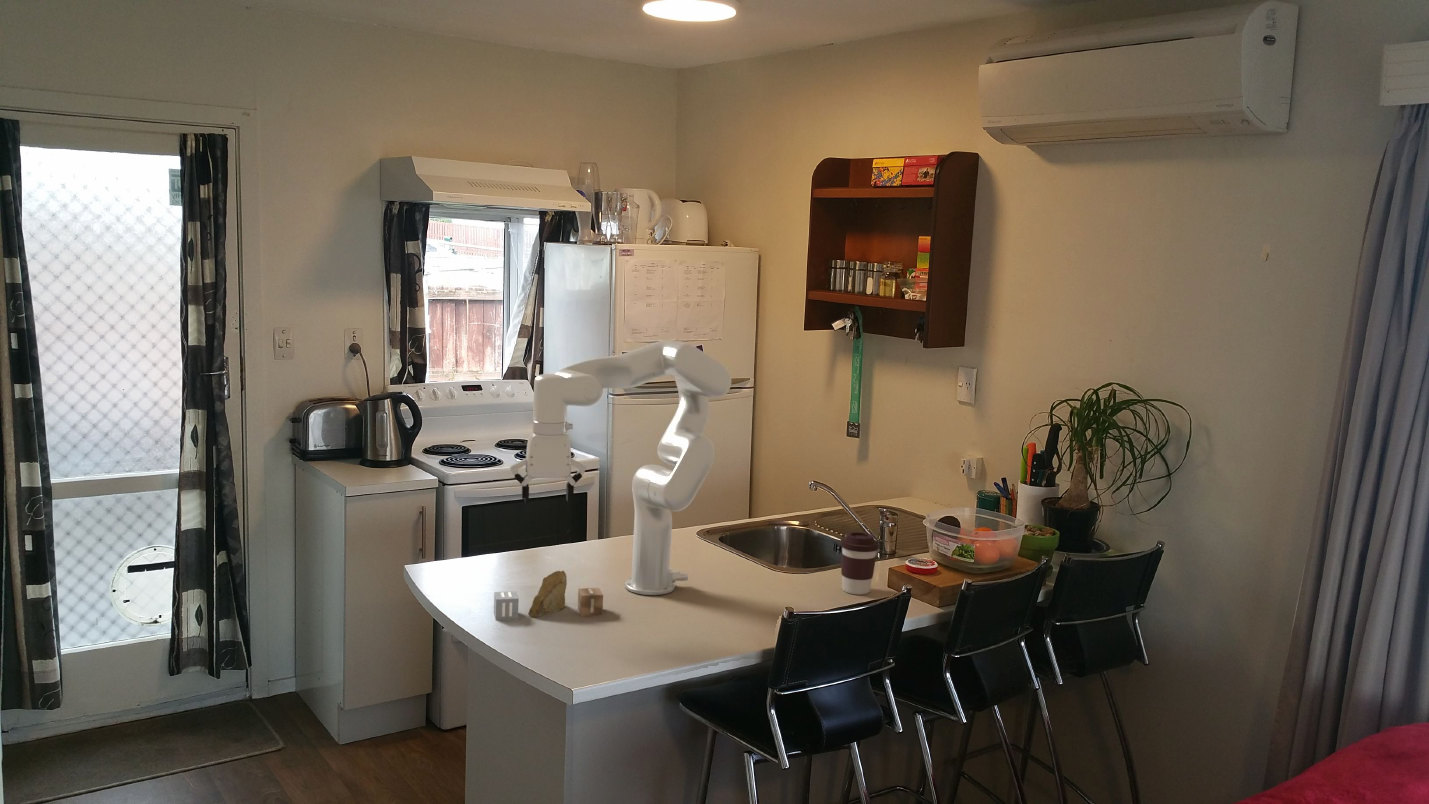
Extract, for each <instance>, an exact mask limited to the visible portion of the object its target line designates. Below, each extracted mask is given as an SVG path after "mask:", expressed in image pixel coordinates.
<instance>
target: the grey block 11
mask: <svg viewBox="0 0 1429 804" xmlns="http://www.w3.org/2000/svg"><path fill="white" fill-rule="evenodd" d="M493 596H494V598H493V615H494V619H495V621H507V620H509V621H510V620H519V602H520V601H519V595H518V593H517V591H515V590H513V591H495V592H494V594H493Z"/></svg>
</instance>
